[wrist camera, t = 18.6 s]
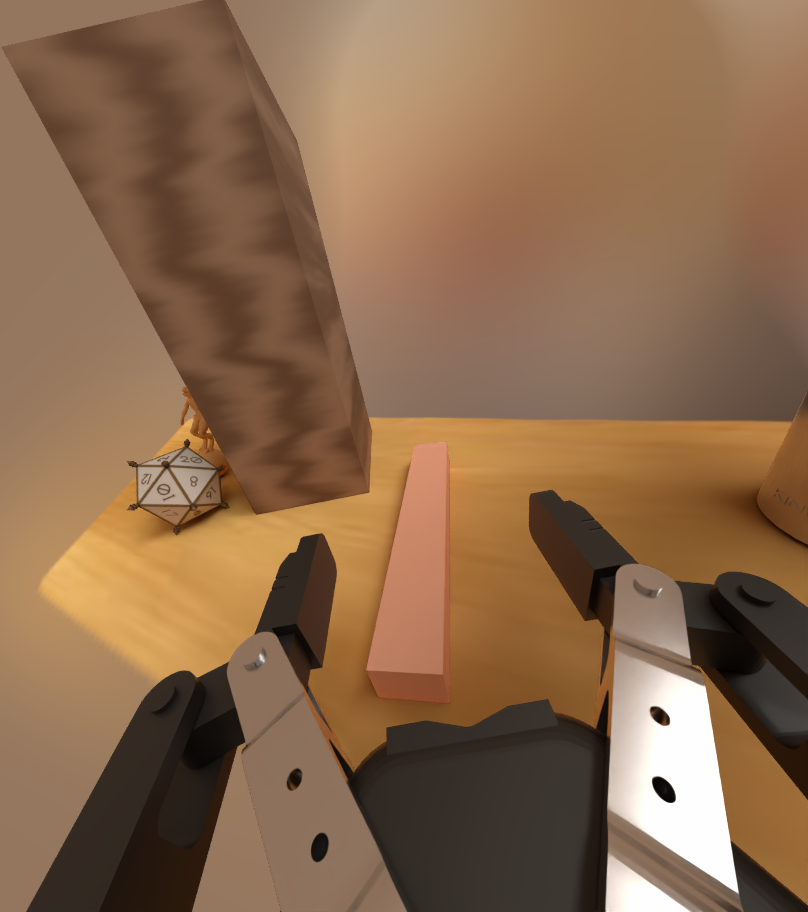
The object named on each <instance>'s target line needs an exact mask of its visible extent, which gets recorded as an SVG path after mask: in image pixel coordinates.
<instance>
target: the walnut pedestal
mask: <svg viewBox="0 0 808 912" xmlns="http://www.w3.org/2000/svg"><path fill="white" fill-rule="evenodd" d="M2 49H3V51H4V53H5V55H6V57H7V58H8V60H9V62H10V64H11V66H12V68H13V69H14V71H15V73H16V75H17V77H18V79H19V80H20V82H21V84H22V86H23V88H24V89H25V91H26V93H27V95H28V97H29V99H30V101H31V102H32V104H33V106H34V108H35V110H36V111H37V113H38V115H39V117H40V119H41V121H42V123H43V124H44V126H45V128H46V130H47V132H48V134H49V135H50V137H51V139H52V141H53V143H54V145H55V146H56V148H57V150H58V152H59V154H60V155H61V157H62V159H63V161H64V163H65V165H66V167H67V168H68V170H69V172H70V174H71V176H72V178H73V179H74V181H75V183H76V185H77V186H78V189H79V190H80V192H81V194H82V196H83V198H84V200H85V201H86V203H87V205H88V207H89V209H90V210H91V212H92V214H93V216H94V218H95V220H96V222H97V223H98V225H99V227H100V229H101V231H102V232H103V234H104V236H105V238H106V240H107V242H108V243H109V245H110V247H111V249H112V251H113V252H114V255H115V256H116V258H117V260H118V262H119V264H120V266H121V267H122V269H123V271H124V273H125V275H126V276H127V278H128V280H129V282H130V284H131V286H132V288H133V289H134V291H135V293H136V295H137V297H138V299H139V300H140V302H141V304H142V306H143V308H144V309H145V311H146V313H147V315H148V317H149V319H150V320H151V322H152V324H153V326H154V328H155V330H156V332H157V333H158V335H159V337H160V339H161V341H162V343H163V344H164V346H165V348H166V350H167V352H168V354H169V355H170V357H171V359H172V361H173V363H174V365H175V366H176V368H177V370H178V372H179V374H180V375H181V377H182V379H183V381H184V383H185V385H186V387H187V388H188V390H189V392H190V394H191V396H192V398H193V399H194V401H195V403H196V405H197V407H198V409H199V410H200V412H201V414H202V416H203V418H204V420H205V421H206V423H207V425H208V427H209V429H210V431H211V432H212V434H213V436H214V438H215V440H216V442H217V443H218V445H219V447H220V449H221V451H222V453H223V454H224V456H225V458H226V460H227V462H228V464H229V465H230V467H231V469H232V471H233V473H234V475H235V476H236V478H237V480H238V482H239V484H240V486H241V487H242V489H243V491H244V493H245V495H246V497H247V498H248V500H249V502H250V504H251V506H252V508H253V510H254V511H255V513H256V514H261V513H266V512H271V511H276V510H281V509H286V508H291V507H296V506H301V505H307V504H312V503H317V502H322V501H327V500H332V499H337V498H342V497H347V496H352V495H357V494H362V493H367V492H369V485H370V462H371V440H372V429H371V426H370V422H369V418H368V414H367V410H366V407H365V402H364V398H363V395H362V391H361V387H360V383H359V379H358V375H357V372H356V367H355V364H354V360H353V356H352V352H351V348H350V344H349V341H348V337H347V333H346V329H345V325H344V321H343V317H342V313H341V309H340V306H339V302H338V298H337V294H336V290H335V286H334V282H333V279H332V275H331V271H330V268H329V263H328V259H327V255H326V251H325V248H324V244H323V240H322V236H321V232H320V228H319V224H318V220H317V216H316V213H315V209H314V205H313V201H312V197H311V193H310V189H309V186H308V182H307V178H306V174H305V170H304V166H303V162H302V158H301V155H300V151H299V147H298V143H297V140H296V138H295V136H294V134H293V132H292V130H291V128H290V126H289V124H288V122H287V121H286V118H285V116H284V114H283V113H282V111H281V109H280V107H279V105H278V103H277V101H276V99H275V97H274V95H273V93H272V91H271V89H270V87H269V85H268V83H267V81H266V80H265V77H264V75H263V74H262V72H261V70H260V68H259V66H258V64H257V62H256V60H255V58H254V56H253V54H252V52H251V50H250V48H249V46H248V44H247V42H246V40H245V38H244V36H243V35H242V32H241V31H240V29H239V27H238V25H237V23H236V21H235V19H234V17H233V15H232V13H231V11H230V9H229V7H228V5H227V3H226V1H225V0H203V1H199V2H194V3H191V4H186V5H181V6H177V7H173V8H169V9H164V10H160V11H155V12H151V13H147V14H142V15H138V16H134V17H129V18H125V19H121V20H116V21H112V22H108V23H104V24H99V25H95V26H91V27H86V28H82V29H77V30H73V31H69V32H64V33H60V34H56V35H51V36H47V37H43V38H38V39H34V40H30V41H25V42H21V43H17V44H12V45H8V46H4V47H2Z"/></svg>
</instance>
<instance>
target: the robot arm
mask: <svg viewBox="0 0 808 912" xmlns="http://www.w3.org/2000/svg"><path fill="white" fill-rule="evenodd" d="M756 500H757V503H758V507H759V508H760V510H761V511H762V512H763V514H764V515H765V516H766V517H767V518H768V519H769V520H770V521H771V522H773V523H774V524H775V525H776V526H777V527H778V528H780V529H782V530H783V531H785V532H786V533H788V534H789V535H791V536H792V537H794V538H796V539H797V540H799V541H801V542H803V543H805V544H807V545H808V391H807V393H806V395H805V398H804V400H803V402H802V404H801V406H800V408H799V410H798V412H797V414H796V416H795V418H794V420H793V422H792V424H791V426H790V429H789V431H788V433H787V435H786V437H785V439H784V441H783V443H782V445H781V447H780V449H779V451H778V453H777V455H776V457H775V459H774V461H773V463H772V465H771V467H770V469H769V471H768V474H767V476H766V478H765V480H764V482H763V484H762V486H761V488H760V490H759V492H758V495H757V499H756ZM529 529H530V533H531V536H532V538H533V540H534V542H535V543H536V545H537V547H538V548H539V550H540V551H541V553H542V554H543V556H544V558H545V559H546V561H547V562H548V564H549V565H550V567H551V568H552V570H553V572H554V573H555V575H556V576H557V578H558V579H559V581H560V583H561V584H562V586H563V587H564V589H565V590H566V592H567V594H568V595H569V597H570V598H571V600H572V601H573V603H574V605H575V606H576V608H577V609H578V611H579V612H580V614H581V616H582V617H583V619H584V620H585V621H588V620H593V619H598V620H599V621H600V623H601V624H602V626H603V627H604V628H603V633H602V645H601V657H600V670H599V682H598V692H597V700H596V706H595V713H594V721H593V727H592V726H590V725H588V724H586V723H584V722H583V721H580V720H578V719H576V718H573V717H571V716H567V715H564V714H560V713H555V712H553V710H552V707H551V705H550V703H549V700H548V699H546V700H540V701H535V702H529V703H523V704H518V705H512V706H507V707H506V708H504V709H502V710H500V711H499V712H497V713H495V714H493V715H491V716H490V717H488V718H486V719H484V720H483V721H481V722H479V723H477V724H475V725H474V726H471V727H462V726H456V725H450V724H444V723H437V722H431V721H421V722H415V723H410V724H404V725H398V726H393V727H387V742H385V743H383V744H381V745H380V746H379V747H377V748H376V749H375V750H373V751H372V752H371V753H370V754H369V755H368V756H367V757H366V758H365V759H364V760H363V761H362V762H361V764H360V765H359V766H358V767H357V769H356V770H355V769H354V767H353V766H352V764H351V762H350V760H349V758H348V756H347V755H346V753H345V751H344V750H343V748H342V746H341V745H340V743H339V741H338V739H337V738H336V736H335V734H334V732H333V730H332V728H331V726H330V724H329V722H328V720H327V718H326V717H325V715H324V713H323V711H322V709H321V707H320V705H319V703H318V701H317V699H316V697H315V695H314V693H313V692H312V690H311V688H310V686H309V684H308V680H309V675H310V670H311V669H317V668H322V666H323V660H324V654H325V647H326V641H327V634H328V628H329V622H330V615H331V609H332V602H333V596H334V590H335V583H336V576H337V570H336V563H335V560H334V558H333V555H332V553H331V550H330V548H329V546H328V543H327V541H326V538H325V536H324V535H323V534H322V533H320V534H315V535H310V536H305V537H302V538H301V540H300V543H299V546H298V549H297V552H294V553H290V554H289V555H288V556H287V558H286V559H285V560H284V561H283V563H282V564H281V565H280V568H279V570H278V573H277V576H276V580H275V581H274V584H273V586H272V591H271V592H270V594H269V597H268V600H267V602H266V605H265V608H264V610H263V613H262V616H261V618H260V621H259V624H258V627H257V629H256V632H255V634H254V635H253V636H251V637H250V638H248V639H247V640H246V641H244V642H243V643H242V644H241V645H240V646H239V647H238V648H237V650H236V651H235V652H234V654H233V655H232V657H231V659H230V661H229V662H228V663H226V664H224V665H222V666H220V667H218V668H216V669H214V670H212V671H210V672H208V673H206V674H204V675H202V676H200V677H198V678H197V677H196V676H195V675H194V674H192V673H191V672H189V671H179V672H176V673H174V674H171V675H170V676H168V677H166V678H165V679H163V680H162V681H161V682H159V683H158V684H157V685H156V686H155V687H154V688H153V689H152V690H151V691H150V692H149V693H148V694H147V696H146V697H145V698H144V700H143V701H142V702H141V704H140V705H139V707H138V709H137V711H136V713H135V715H134V716H133V718H132V720H131V722H130V724H129V725H128V727H127V729H126V731H125V733H124V734H123V736H122V738H121V740H120V742H119V744H118V745H117V747H116V749H115V751H114V753H113V754H112V756H111V758H110V760H109V762H108V764H107V765H106V767H105V769H104V771H103V773H102V775H101V776H100V778H99V780H98V782H97V784H96V786H95V787H94V789H93V791H92V793H91V795H90V796H89V799H88V800H87V802H86V804H85V806H84V808H83V809H82V811H81V813H80V815H79V817H78V819H77V820H76V822H75V824H74V826H73V827H72V829H71V831H70V833H69V835H68V837H67V839H66V840H65V842H64V844H63V846H62V848H61V849H60V851H59V853H58V855H57V857H56V858H55V860H54V862H53V864H52V866H51V868H50V869H49V871H48V873H47V875H46V877H45V879H44V881H43V882H42V884H41V886H40V888H39V890H38V892H37V893H36V895H35V897H34V899H33V901H32V902H31V904H30V906H29V908H28V910H27V912H192V909H193V905H194V902H195V898H196V894H197V891H198V887H199V884H200V880H201V877H202V873H203V869H204V866H205V862H206V858H207V854H208V851H209V848H210V844H211V840H212V837H213V833H214V829H215V826H216V822H217V818H218V815H219V811H220V808H221V804H222V801H223V797H224V793H225V790H226V786H227V782H228V779H229V775H230V772H231V768H232V764H233V761H234V757H235V754H236V750H237V747H238V746H239V745H241V744H243V743H245V742H246V747H245V748H244V749H243V750H242V763H243V767H244V771H245V775H246V779H247V782H248V786H249V790H250V794H251V798H252V801H253V805H254V809H255V813H256V817H257V821H258V825H259V828H260V832H261V836H262V840H263V844H264V848H265V851H266V855H267V859H268V863H269V867H270V871H271V874H272V878H273V882H274V886H275V890H276V894H277V897H278V901H279V905H280V909H281V911H280V912H808V905H807V904H806V903H804V902H803V901H802V900H801V899H800V898H798V897H797V896H796V895H795V894H794V893H792V892H791V891H790V890H789V889H788V888H787V887H785V886H784V885H783V884H782V883H781V882H779V881H778V880H777V879H776V878H775V877H773V876H772V875H771V874H770V873H769V872H768V871H766V870H765V869H764V868H763V867H762V866H760V865H759V864H758V863H757V862H756V861H754V860H753V859H752V858H751V857H750V856H749V855H747V854H746V853H745V852H744V851H743V850H741V849H740V848H739V847H738V846H737V845H735V844H734V843H733V842H732V841H731V840H730V837H729V831H728V824H727V818H726V812H725V806H724V800H723V793H722V787H721V781H720V775H719V768H718V762H717V756H716V750H715V744H714V737H713V731H712V725H711V719H710V712H709V706H708V700H707V694H706V688H705V682H704V678H703V676H702V673H701V671H700V670H699V669H697V668H694V667H693V666H692V665H698V666H700V667H701V668H702V670H703V671H704V672H705V673H706V674H707V676H708V677H709V678H710V679H711V681H712V682H713V683H714V684H715V686H716V687H717V688H718V689H719V691H720V692H721V693H722V694H723V696H724V697H725V698H726V699H727V700H728V702H729V703H730V704H731V705H732V707H733V708H734V709H735V710H736V712H737V713H738V714H739V715H740V717H741V718H742V719H743V720H744V722H745V723H746V724H747V725H748V726H749V728H750V729H751V730H752V731H753V733H754V734H755V735H756V736H757V738H758V739H759V740H760V741H761V743H762V744H763V745H764V746H765V747H766V749H767V750H768V751H769V752H770V754H771V755H772V756H773V757H774V759H775V760H776V761H777V762H778V764H779V765H780V766H781V767H782V769H783V770H784V771H785V772H786V773H787V775H788V776H789V777H790V778H791V780H792V781H793V782H794V783H795V785H796V786H797V787H798V788H799V790H800V791H801V792H802V793H803V795H804V796H805V797H806V798H807V799H808V607H806V606H805V605H804V604H802V603H801V602H800V601H798V600H797V599H796V598H794V597H793V596H792V595H791V594H789V593H788V592H787V591H785V590H784V589H782V588H781V587H779V586H778V585H776V584H774V583H772V582H770V581H768V580H766V579H763V578H761V577H758V576H755V575H752V574H748V573H742V572H726V573H723V574H721V575H719V576H718V578H717V579H716V581H715V584H714V585H712V584H701V583H690V582H680V581H674V580H673V579H672V578H670V577H669V576H668V575H666V574H665V573H663V572H662V571H660V570H658V569H655V568H653V567H650V566H647V565H642V564H639V563H638V562H636V561H635V559H634V558H633V557H632V556H631V555H630V554H629V553H628V552H627V551H626V550H625V549H624V548H623V547H622V546H621V545H620V544H619V543H618V542H617V541H616V540H615V539H614V538H613V537H612V536H611V535H610V534H609V533H608V532H607V531H606V530H605V529H603V527H602V526H601V525H600V524H599V523H598V522H597V521H595V519H594V518H593V517H592V516H591V515H590V513H589V512H588V511H587V510H586V509H585V508H583V507H581V506H579V505H577V504H576V503H574V502H572V501H565V502H564V501H563V500H562V499H561V498H560V497H559V496H558V495H557V494H556V493H555V492H554V491H553V490H548V491H542V492H537V493H532V494H531V495H530V499H529Z"/></svg>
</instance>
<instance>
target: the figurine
mask: <svg viewBox="0 0 808 912" xmlns="http://www.w3.org/2000/svg"><path fill="white" fill-rule="evenodd" d="M182 391H183V392H184V393H183V395H184V396H186V397H188V399H187V401H186V403H185V408H184V410H183V412H182V417H181V425H184V417H185V415H186V413H187V411H188V408H189V405H190V406H191V408H192V409H193V410H194V411H195V413H196V414H195V415H194V421H193V424H192V428H191V430H190V432H191V434H193V435H194V436H197V437H199V438H202V439H204V441H203V446H202V448H201V449H200V450H199V453H198V454H199V455H200V456H201V457H203V458H204V459H206V460H207V461H209V462H210V463H211V464H213V465H214V466H216V467H217V468H218V467H219V466H221V465H223V466H226V467H225V469H224V470H222V471H220V476H221V475H223V474H224V473H225V472H226V471H227V469H228V465H229V464H228V462H227V460H226V458H225V456H224V454H223V453H222V452H221V451H219V450H216V449H213V445H214V438H213V435H212V434H211V433H206V431H207V430H208V425H207V423H206V421H205V420H204V418H203V416H202V414H201V412H200V410H199V409H198V407H197V405H196V403H195V401H194V399H193V398H192V396H191V394H190V392H189V390H188V388H187V387H183V389H182ZM198 431H199V433H198ZM207 438H208V439H210V443H209V447H208V449H207V441H208V439H207Z"/></svg>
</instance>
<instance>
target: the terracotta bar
mask: <svg viewBox="0 0 808 912" xmlns="http://www.w3.org/2000/svg"><path fill="white" fill-rule="evenodd" d="M366 672H367V674H368V676H369V678H370V680H371V682H372V684H373V686H374V688H375V691H376V693H377V695H378V697H379V698H387V699H400V700H413V701H426V702H439V703H450V461H449V454H448V446H447V441H445V442H435V443H426V444H416V445H415V446H414V450H413V455H412V459H411V464H410V469H409V473H408V478H407V483H406V487H405V492H404V496H403V501H402V506H401V510H400V515H399V520H398V524H397V529H396V533H395V538H394V543H393V547H392V552H391V557H390V561H389V566H388V570H387V575H386V580H385V584H384V589H383V594H382V598H381V603H380V607H379V612H378V617H377V621H376V626H375V631H374V635H373V640H372V644H371V649H370V654H369V658H368V663H367V668H366Z"/></svg>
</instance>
